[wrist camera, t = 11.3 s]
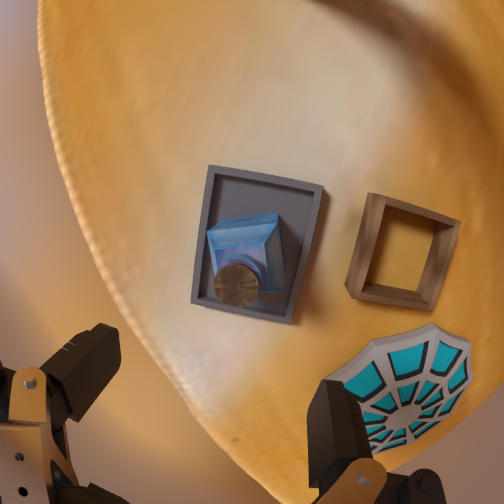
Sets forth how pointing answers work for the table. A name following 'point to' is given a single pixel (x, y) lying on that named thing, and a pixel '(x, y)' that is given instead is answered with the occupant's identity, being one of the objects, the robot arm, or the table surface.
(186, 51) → the table surface
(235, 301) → the perfume bottle
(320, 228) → the table surface
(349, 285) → the holder
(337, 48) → the table surface
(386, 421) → the decorative platform
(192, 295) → the tray
